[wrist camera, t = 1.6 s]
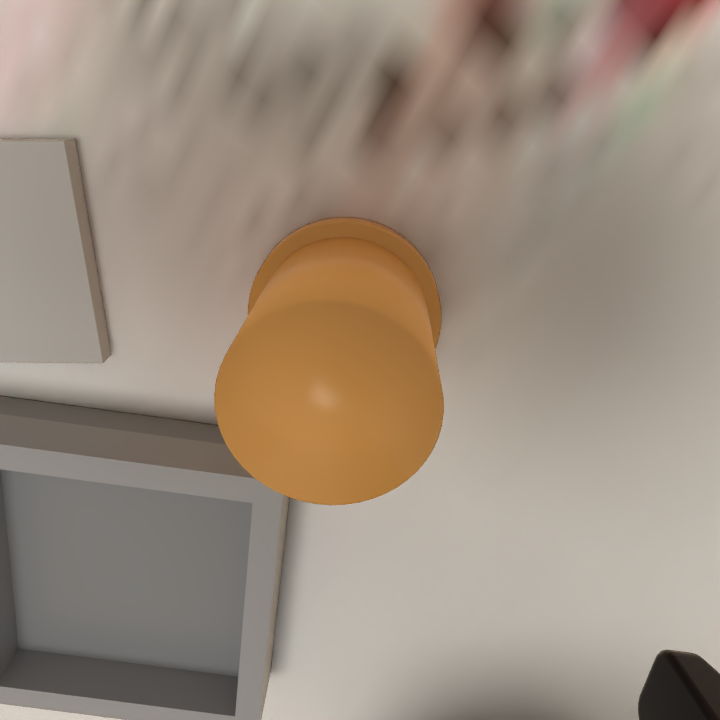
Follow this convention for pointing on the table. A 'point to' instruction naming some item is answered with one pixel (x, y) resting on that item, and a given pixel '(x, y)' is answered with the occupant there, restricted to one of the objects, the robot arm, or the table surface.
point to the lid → (47, 258)
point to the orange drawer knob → (335, 365)
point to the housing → (133, 567)
